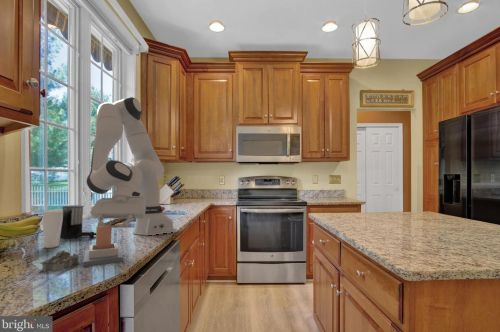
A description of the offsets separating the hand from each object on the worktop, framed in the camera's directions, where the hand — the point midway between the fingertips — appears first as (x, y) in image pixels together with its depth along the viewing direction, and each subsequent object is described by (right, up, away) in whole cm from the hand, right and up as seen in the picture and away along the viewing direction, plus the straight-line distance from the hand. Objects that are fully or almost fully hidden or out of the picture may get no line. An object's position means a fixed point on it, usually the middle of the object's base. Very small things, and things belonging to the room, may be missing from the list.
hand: (112, 226), depth 102 cm
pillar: (-2, -9, -3) cm, 10 cm away
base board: (-2, -11, -3) cm, 11 cm away
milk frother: (-31, -12, +27) cm, 43 cm away
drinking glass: (-30, -11, +9) cm, 33 cm away
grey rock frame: (-10, -11, -13) cm, 20 cm away
